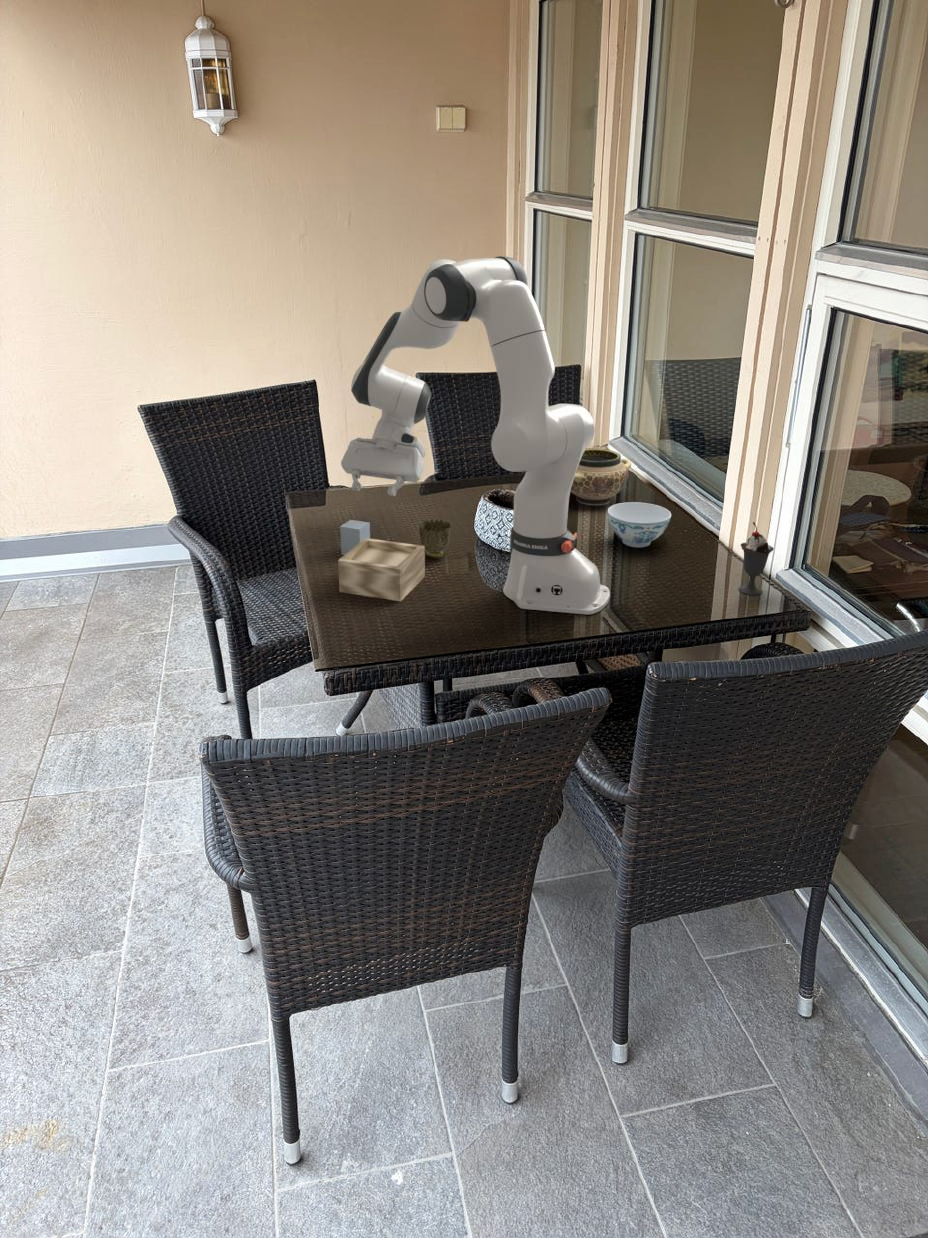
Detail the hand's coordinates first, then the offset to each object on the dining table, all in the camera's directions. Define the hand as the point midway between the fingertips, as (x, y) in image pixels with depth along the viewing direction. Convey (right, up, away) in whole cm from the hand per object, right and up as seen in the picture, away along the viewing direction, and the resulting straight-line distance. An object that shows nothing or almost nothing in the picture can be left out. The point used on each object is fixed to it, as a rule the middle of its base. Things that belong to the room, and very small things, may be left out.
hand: (372, 492), depth 220 cm
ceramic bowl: (+57, +2, +34) cm, 66 cm away
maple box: (+4, -23, -19) cm, 30 cm away
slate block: (-4, -15, -3) cm, 15 cm away
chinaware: (+63, -12, +5) cm, 65 cm away
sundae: (+83, -24, -20) cm, 89 cm away
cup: (+15, -16, -4) cm, 22 cm away
